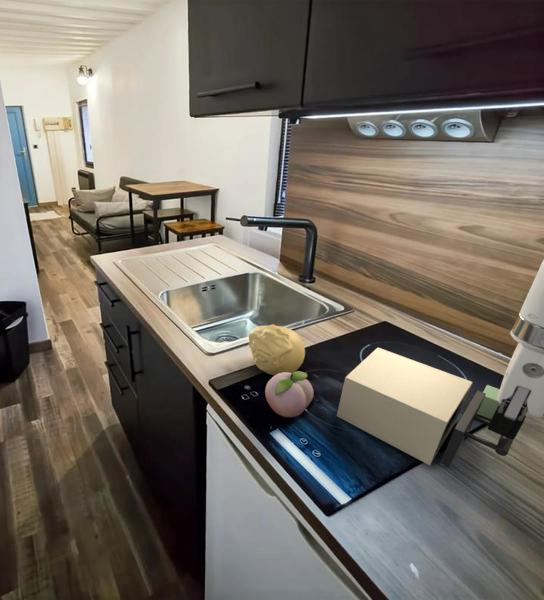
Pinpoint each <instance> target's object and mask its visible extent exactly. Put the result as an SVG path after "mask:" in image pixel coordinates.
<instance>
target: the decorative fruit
mask: <svg viewBox="0 0 544 600" xmlns="http://www.w3.org/2000/svg"><path fill="white" fill-rule="evenodd" d="M308 377H309V376H308V373H306V372H304V371H300V370H296V371H295V372H293V373H288V372H284V373H279V374H277V375H275V376H274V375H273V376H272V377H271V378H270V379H269V380H268V382H267V383H266V386H265V390H264V393H265V399H266V401H267V404H268V405H269V407H270V408H271V410H272V411H273V412H274V413H276V414H277V415H279V416H281V417H283V418H296V417H298V416H299V415H302V414H303V412H304V411H305V409H307V408H308V407H309V406H310V404H311V402H312V400H313V398H314V388H313V386H312V384H311V382H310V381H309V380H308V379H307V378H308Z"/></svg>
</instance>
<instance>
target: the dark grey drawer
mask: <svg viewBox="0 0 544 600" xmlns="http://www.w3.org/2000/svg"><path fill="white" fill-rule="evenodd" d="M485 395H486V393H483V391H480V390H476V391H475V394H474V395H473V396H472V399H470V402H469V404H468V405H467V407H466V408H465V410H464V412H463V413H462V415H461V417H460V419H459V420H458V422H457V424H456V426H455V428H454V429H453V432H452V434H451V436H450V439H449V441H448V443H447V445H446V448H445V449H444V452H443V456H442V458H441V460H440V462H439V464H440V465H442V466H444V467H446V468H450V466H451V464H452V463H453V461H454V459H455V457H456V455H457V454H458V452H459V450H460V449H461V447H462V445H463V442H464V441H465V439H466V438H468V439H470V440H473V441H475V442H477V443H479V444H481V445H484V446H485V447H488V448H489V449H492V450H494V451H495V453H496V454H497V455H498V456H501V457H505V456H507V455H508V454H509V452H510V449H511V447H512V444H513V441H514V439H513V440H512V439H509V438H507V437H504V436H502V435H500V438H499V440H498V442H497V443H496V444H495V443H493V442H490V441H488V440H486V439H484V438H482V437H480V436H477V435H475V434H473V433H470V430H471V428H472V426H473V423H474V421H476V422H478V423H481V424H483V425H486V426H488V425H489V423H490V421H491V420H489V419H486V418H483V417H482V416H478V414H477V413H478V410H479V408H480V406H481V404H482V402H483V399H484V397H485ZM460 404H461V403H460ZM460 404H459V406H460ZM459 406H458V408H457V409H456V411H455V412H454V414H453V416H452V417H451V419H450V421H449V422H448V424H447V426H446V429H445V431H444V433H443V436H442V438H443V437H444V435H445V433H446V432H447V430H448V428H449V427H450V425H451V424H452V422H453V420H454V418H455V416H456V413H457V411H458V409H459ZM442 438H441V440H442ZM440 442H441V441H440Z"/></svg>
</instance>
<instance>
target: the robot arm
mask: <svg viewBox="0 0 544 600" xmlns="http://www.w3.org/2000/svg"><path fill="white" fill-rule="evenodd" d="M514 321H515V322H514V324H513V326H512V328H511V330H510V332H509V333H510V337H511V338H512V339H513V340H514V341H516V342H517V345H516V347H515V349H514V351H513V353H512V356H511V358H510V361H509V363H508V365H507V368H506V370H505V373H504V375H503V378H502V381H501V384H500V387H499V389H500V390H499V393H498V397H497V401H498V402H499V404H501V403H502V404H501V406H499V405H498V407H497V409H496V411H495V413H494V415H493V417H492V419H490V420H489V421H490V423H489V425H487V430H489V431H491V432H493V433H495V434H498V435H500V436H501V435H502V436H504V437H507V438H509V439H512V440H513V441H514V440H515V439H516V437H517V435H518V433H519V432H520V429H522V426H523V424H524V422H525V420H526V418H527V416H526V414H527V412H528V415H529V416H532V417H534V418H535V419H541V418H542V417H543V415H544V259H542V262H541V264H540V266H539V269H538V271H537V273H536V275H535V278H534V279H533V281H532V284H531V287H530V288H529V290H528V293H527V295H526V297H525V299H524V301H523V304H522V306H521V308H520V311H519V313H518V315H517V317H516V319H515V320H514Z"/></svg>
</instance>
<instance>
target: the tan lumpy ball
mask: <svg viewBox="0 0 544 600" xmlns="http://www.w3.org/2000/svg"><path fill="white" fill-rule="evenodd" d="M248 347H249V348H250V351H251V354H252V355H251V356H252V358H253V363H254V365H255V366H256V367H257V368H258V369H259V370H260V371H262V372H264V373H266V374H268V375H270V376H273V377H274V376H275V375H277V374H279V373H284V372H288V373H293V372H296V371H298V369H299V368H300V367H301V366H302V364H303V363H304V360H305V356H306V349H305V348H306V347H305V344H304V341H303V340H302V338H301V337H300V336H299V334H298V333H297V332H296V331H294V330H293V329H291V328H289V327H287V326H286V327H285V326H281V325H275V324H273V323H272V324H270V325H258V326H256V327H254V328H253V329H252V331H251V332H250V333H249V334H248Z"/></svg>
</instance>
